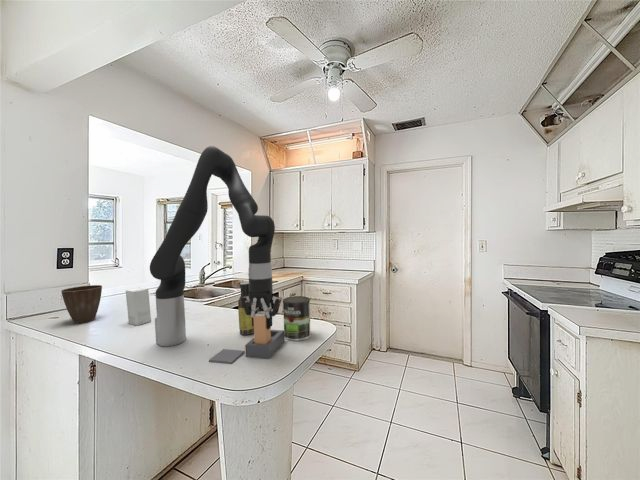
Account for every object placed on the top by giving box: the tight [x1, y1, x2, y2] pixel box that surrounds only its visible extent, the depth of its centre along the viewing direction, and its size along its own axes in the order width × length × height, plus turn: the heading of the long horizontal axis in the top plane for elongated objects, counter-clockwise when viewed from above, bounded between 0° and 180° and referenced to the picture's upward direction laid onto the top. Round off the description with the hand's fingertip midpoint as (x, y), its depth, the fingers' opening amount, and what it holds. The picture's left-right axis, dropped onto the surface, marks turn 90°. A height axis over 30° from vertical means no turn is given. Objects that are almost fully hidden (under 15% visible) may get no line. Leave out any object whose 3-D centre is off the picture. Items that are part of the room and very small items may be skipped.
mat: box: [208, 348, 246, 365], centre depth 91 cm, size 8×8×1 cm
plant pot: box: [60, 284, 103, 324], centre depth 134 cm, size 15×15×16 cm
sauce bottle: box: [237, 282, 254, 336], centre depth 112 cm, size 6×6×20 cm
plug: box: [253, 310, 272, 344], centre depth 92 cm, size 4×4×10 cm
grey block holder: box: [244, 329, 286, 360], centre depth 96 cm, size 8×14×4 cm, turn 166°
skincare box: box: [125, 287, 152, 326], centre depth 129 cm, size 8×7×16 cm
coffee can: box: [282, 295, 312, 342], centre depth 107 cm, size 10×10×14 cm
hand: (262, 327), depth 92 cm, fingers closed on plug, 4 cm apart
